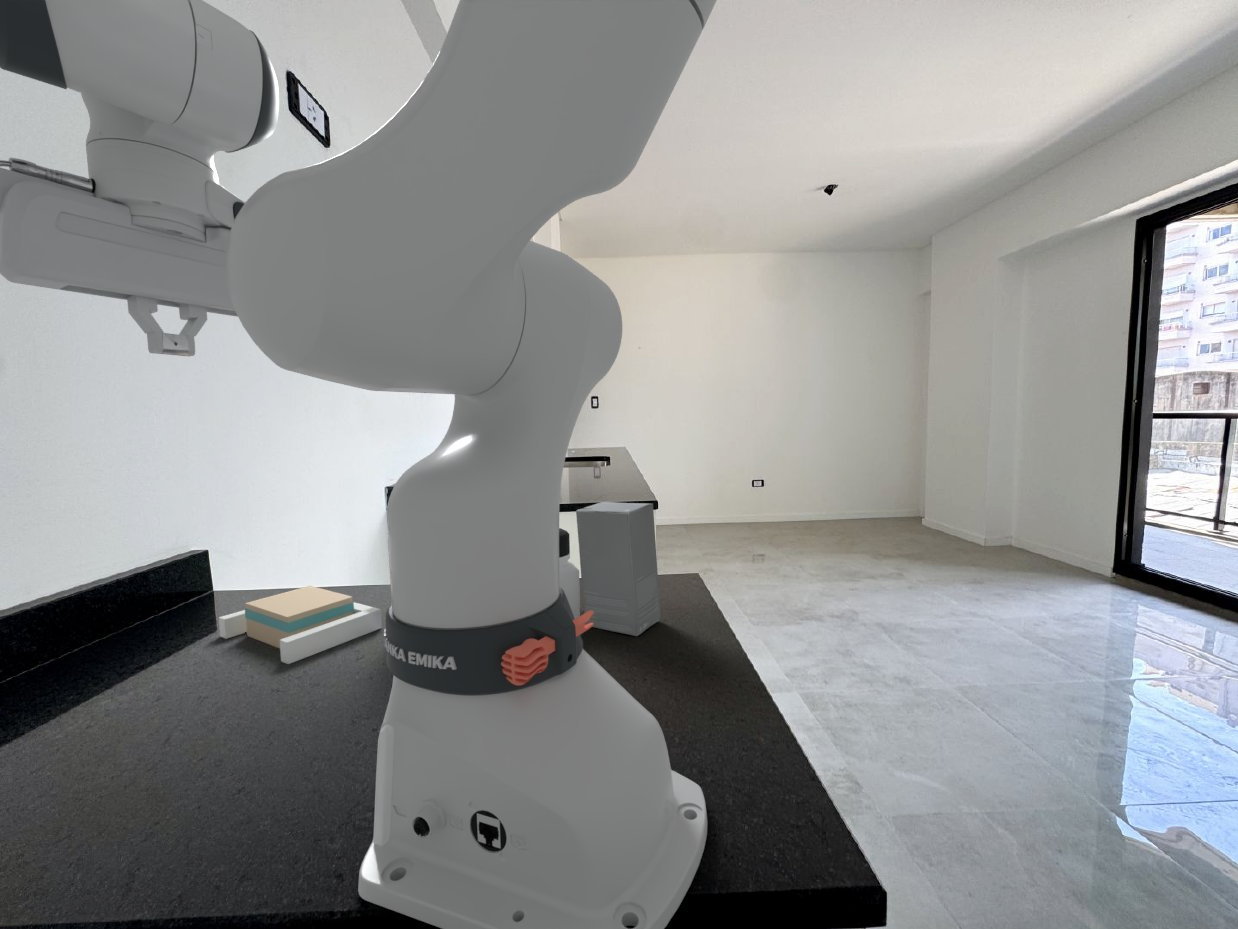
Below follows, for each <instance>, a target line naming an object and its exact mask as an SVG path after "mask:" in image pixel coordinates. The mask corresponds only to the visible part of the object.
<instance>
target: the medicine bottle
mask: <svg viewBox="0 0 1238 929" xmlns="http://www.w3.org/2000/svg"><path fill="white" fill-rule="evenodd" d="M570 540H571V539H570V533H569V532H568V531H567V530H565V529H563V528H560V527H559V584H560V587H561V589H562V590H563V591H564V593H565V595H566V597H567V600H568V602H569V605H570V607H571V610H572V613H573V615H574V618H575V619H576V618H578V617H579V616H581V599H580V598H581V595H580V594H581V592H580V591H581V590H580V570H579V569H578V567H577V566H576V565H575V564H574V563H573V562H572V561H571V560H570V558H571V549H570V547H571V546H570Z"/></svg>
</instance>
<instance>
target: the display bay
mask: <svg viewBox="0 0 1238 929" xmlns="http://www.w3.org/2000/svg"><path fill="white" fill-rule="evenodd" d="M353 602H354V614H353V615H350V616H347V617H344V618H341V619H338V620H335V621H333V622H330V623H327V624H324V625H321V626H318V627H315V628H312V629H310V630H307V631H304V632H301V633H298V634H295V635H292V636H289V637H286V638H284V639H281V640H280V648H279V651H280V652H279V653H280V661H281V663H283V664H286V665H290V664H292V663H295V662H299V661H300V660H303V659H305V658H308V657H311V656H314V655H316V654H318V653H321V652H323V651H326V650H328V649H331V648H334V647H336V646H339V645H342V644H344V643H346V642H349V641H351V640H355V639H357V638H360V637H362V636H364V635H367V634H369V633H372V632H375V631H377V630H380V629H382V613H381V612H382V610H381V609H380V608H378V607H373V606H370V605H366V604H363V603H358V602H355V601H353ZM218 627H219V628H218V629H219V637H221V638H222V639H225V640H227V639H229V638H233V637H236V636H239V635H242V634H245V632H246V633H247V623H246V618H245V609H243V610H239V611H236V612H233V613H230V614H226V615H222V616H219V617H218Z"/></svg>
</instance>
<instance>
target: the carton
mask: <svg viewBox="0 0 1238 929" xmlns="http://www.w3.org/2000/svg"><path fill="white" fill-rule="evenodd" d="M354 602H355V601H354V597H353V596H351V595H348V594H344V593H340V592H336V591H333V590H328V589H325V588H320V587H318V586H313V585H307V586H303V587H300V588H295V589H293V590H289V591H286V592H281V593H278V594H274V595H270V596H267V597H263V598H258V599H256V600H252V601H249V602H245V603H244V605H245V606H244V607H245V608H244V610H245V618H246V623H247V632H246V635H247V637H250V638H252V639H255V640H257V641H260V642H263V643H265V644H268V645H270V646H272V647H275V648H277V649H280V640H281V639H284V638H286V637H289V636H292V635H295V634H298V633H301V632H304V631H307V630H310V629H312V628H315V627H318V626H321V625H324V624H327V623H330V622H333V621H335V620H338V619H341V618H344V617H347V616H350V615H353V614H354Z"/></svg>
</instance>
